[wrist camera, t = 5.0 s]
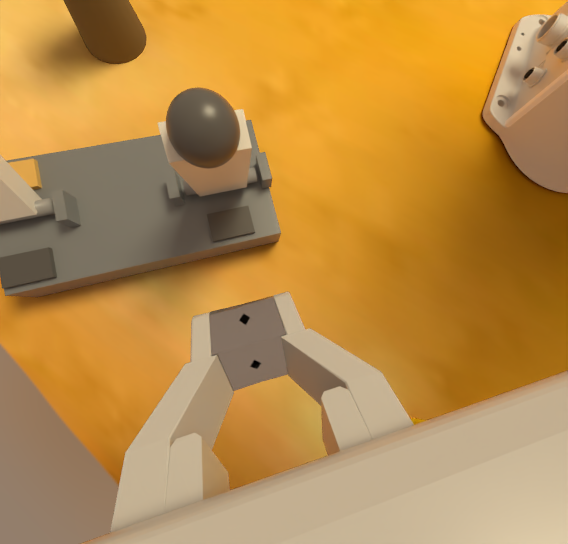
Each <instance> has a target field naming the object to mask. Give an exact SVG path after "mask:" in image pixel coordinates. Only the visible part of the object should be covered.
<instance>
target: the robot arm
mask: <svg viewBox="0 0 568 544" xmlns="http://www.w3.org/2000/svg"><path fill="white" fill-rule="evenodd" d="M483 118H484V120H485V122H486V123H487V124H488V125H489V126H490V128H491V129H492V130H493V131H494V132H496V133H497V134H498V135H499V137H500V138H501V140H502V142H503V143H504V146H505V148H506V150H507V152H508V154H509V155H510V157H511V159H512V160H513V161H514V163H515V164H516V165H517V167H518V168H519V169H520V170H521V171H522V172H523V173H524V174H525V175H526V176H527V177H529V178H530V179H531V180H533V181H534V182H536V183H537V184H539V185H541V186H543V187H545V188H547V189H550V190H553V191H557V192H562V193H568V1H567V2H566V3H565V4H564V5H563V6H562V7H561V8H560V9H558V10H557V11H556V12H555V13H554V14H553V15H552V16H550V15H530V16H526V17H523V18H521V19H520V20H519V21H518V22H517V23H516V24H515V25H514V27H513V29H512V32H511V34H510V37H509V40H508V43H507V46H506V48H505V51H504V54H503V57H502V59H501V62H500V65H499V68H498V70H497V73H496V76H495V79H494V82H493V84H492V87H491V90H490V93H489V95H488V98H487V101H486V104H485V107H484V109H483ZM287 374H288V376H289V377H291V378H292V379H293V380H294V381H295V382H296V383H297V384H298V385H299V386H300V387H301V388H302V389H304V390H305V391H306V392H307V393H308V394H309V395H310V396H311V397H312V398H313V399H314V400H316V401H317V402H318V403H319V404H320V405H321V409H322V434H323V442H324V445H325V448H326V451H327V454H328V456H325V457H323V458H320V459H317V460H314V461H311V462H308V463H306V464H303V465H300V466H297V467H294V468H292V469H289V470H286V471H283V472H280V473H277V474H275V475H272V476H269V477H266V478H263V479H261V480H258V481H255V482H252V483H249V484H247V485H244V486H241V487H238V488H235V489H232V490H230V485H229V475H228V471H227V470H226V469H225V467H224V466H223V465H222V463H221V462H220V461H219V459H218V458H217V457H216V455H215V454H214V453H213V451H212V448H213V445H214V443H215V440H216V438H217V435H218V433H219V430H220V427H221V425H222V422H223V420H224V417H225V414H226V412H227V409H228V407H229V404H230V402H231V399H232V396H233V394H234V392H233V391H235V390H238V389H241V388H244V387H247V386H250V385H253V384H256V383H259V382H262V381H266V380H269V379H273V378H276V377H280V376H284V375H287ZM81 544H568V370H567V371H565V372H562V373H559V374H556V375H553V376H551V377H548V378H545V379H542V380H539V381H536V382H534V383H531V384H528V385H525V386H522V387H520V388H517V389H514V390H511V391H508V392H506V393H503V394H500V395H497V396H494V397H491V398H489V399H486V400H483V401H480V402H477V403H475V404H472V405H469V406H466V407H463V408H460V409H458V410H455V411H452V412H449V413H446V414H444V415H441V416H438V417H435V418H432V419H429V420H427V421H424V422H421V423H418V424H415V425H414V424H413V422H412V421H411V419H410V417H409V416H408V414H407V413H406V411H405V409H404V408H403V406H402V404H401V403H400V401H399V400H398V398H397V396H396V395H395V393H394V392H393V390H392V388H391V387H390V385H389V383H388V382H387V380H386V379H385V377H384V375H383V374H382V372H381V371H379V370H377V369H376V368H374V367H373V366H371V365H369V364H368V363H366V362H364V361H363V360H361V359H360V358H358V357H356V356H355V355H353V354H351V353H350V352H348V351H346V350H345V349H343V348H342V347H340V346H338V345H337V344H335V343H333V342H332V341H330V340H329V339H327V338H325V337H324V336H322V335H320V334H319V333H317V332H315V331H314V330H312V329H311V328H310V329H306V330H305V327H304V325H303V323H302V320H301V318H300V316H299V313H298V311H297V309H296V306H295V304H294V301H293V299H292V297H291V294H290V293H289V292H285V293H281V294H277V295H274V296H271V297H267V298H263V299H260V300H256V301H252V302H248V303H245V304H241V305H237V306H233V307H229V308H225V309H220V310H216V311H212V312H210V313H205V314H201V315H197V316H193V318H192V323H191V362H190V363H186V364H185V365H184V366H183V368H182V369H181V371H180V372H179V374H178V375H177V377H176V378H175V380H174V381H173V383H172V384H171V386H170V387H169V389H168V390H167V392H166V393H165V395H164V396H163V398H162V399H161V401H160V402H159V404H158V405H157V407H156V408H155V410H154V411H153V412H152V414H151V415H150V417H149V418H148V420H147V421H146V423H145V424H144V426H143V427H142V429H141V430H140V432H139V433H138V435H137V436H136V438H135V439H134V441H133V442H132V444H131V445H130V447H129V448H128V450H127V451H126V453H125V458H124V463H123V468H122V473H121V478H120V484H119V489H118V494H117V499H116V504H115V510H114V515H113V521H112V525H111V531H110V533H109V534H106V535H103V536H100V537H97V538H95V539H92V540H89V541H86V542H83V543H81Z"/></svg>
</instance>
